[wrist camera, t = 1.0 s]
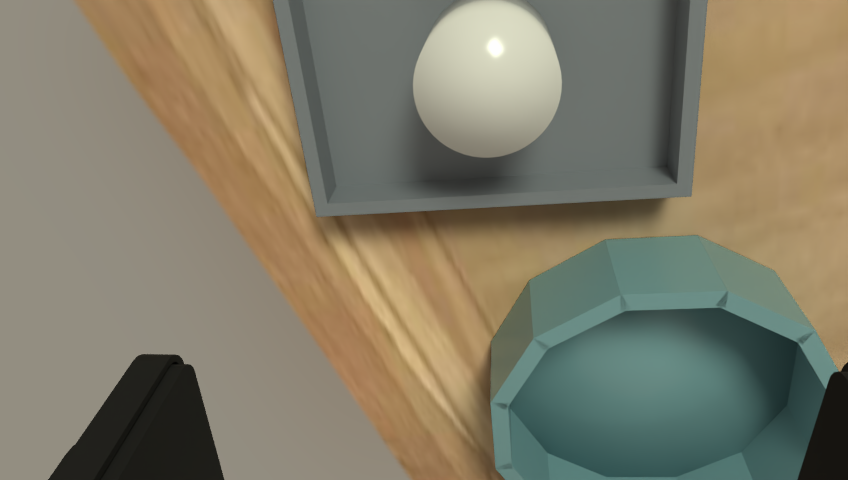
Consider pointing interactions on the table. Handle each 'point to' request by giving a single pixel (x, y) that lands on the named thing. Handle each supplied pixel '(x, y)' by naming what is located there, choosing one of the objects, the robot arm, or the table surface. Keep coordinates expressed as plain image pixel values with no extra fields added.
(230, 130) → the table surface
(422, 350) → the table surface
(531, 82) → the pale stone
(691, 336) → the bowl
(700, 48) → the parts tray
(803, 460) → the robot arm
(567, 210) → the table surface
